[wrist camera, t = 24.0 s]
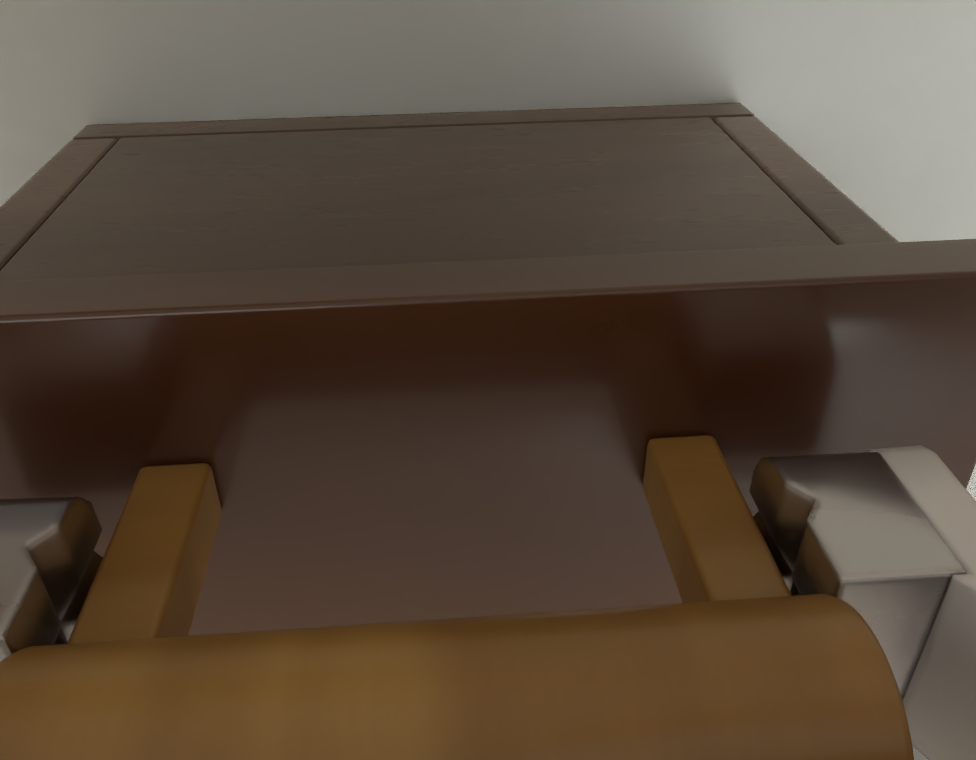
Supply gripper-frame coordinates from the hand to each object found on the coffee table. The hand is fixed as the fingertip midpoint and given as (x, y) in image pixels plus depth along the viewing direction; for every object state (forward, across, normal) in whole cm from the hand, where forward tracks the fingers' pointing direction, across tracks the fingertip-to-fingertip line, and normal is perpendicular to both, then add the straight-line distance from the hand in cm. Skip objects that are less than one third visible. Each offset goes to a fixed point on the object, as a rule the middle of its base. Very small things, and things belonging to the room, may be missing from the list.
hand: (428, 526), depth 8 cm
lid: (+2, 0, +5) cm, 5 cm away
